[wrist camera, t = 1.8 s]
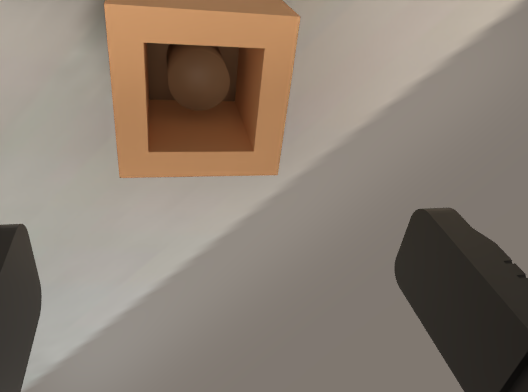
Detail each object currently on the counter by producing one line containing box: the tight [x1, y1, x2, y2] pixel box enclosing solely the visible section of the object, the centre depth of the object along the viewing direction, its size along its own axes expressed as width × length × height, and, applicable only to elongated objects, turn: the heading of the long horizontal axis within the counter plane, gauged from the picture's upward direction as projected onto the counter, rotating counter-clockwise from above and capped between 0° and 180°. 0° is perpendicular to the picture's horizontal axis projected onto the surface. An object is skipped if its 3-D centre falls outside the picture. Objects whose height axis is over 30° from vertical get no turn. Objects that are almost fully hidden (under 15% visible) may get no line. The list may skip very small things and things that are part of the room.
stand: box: [147, 43, 239, 111], centre depth 20 cm, size 6×6×7 cm
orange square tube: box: [104, 0, 300, 178], centre depth 18 cm, size 6×6×5 cm
